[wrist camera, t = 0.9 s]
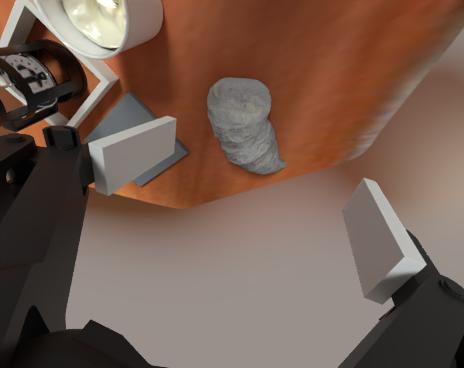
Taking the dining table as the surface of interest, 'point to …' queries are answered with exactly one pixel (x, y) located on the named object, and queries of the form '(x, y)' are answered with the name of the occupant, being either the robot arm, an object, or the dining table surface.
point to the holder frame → (22, 25)
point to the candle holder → (102, 24)
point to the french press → (37, 82)
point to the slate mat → (129, 116)
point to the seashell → (244, 124)
